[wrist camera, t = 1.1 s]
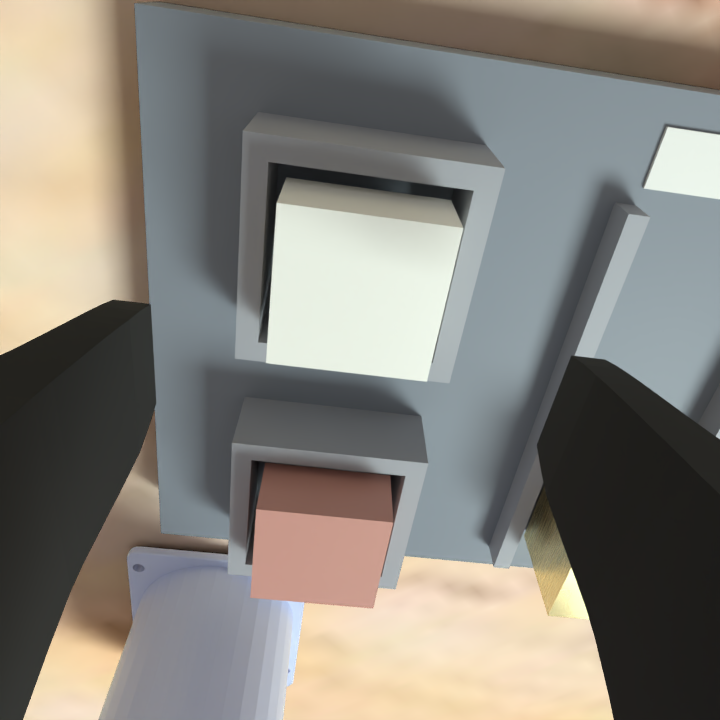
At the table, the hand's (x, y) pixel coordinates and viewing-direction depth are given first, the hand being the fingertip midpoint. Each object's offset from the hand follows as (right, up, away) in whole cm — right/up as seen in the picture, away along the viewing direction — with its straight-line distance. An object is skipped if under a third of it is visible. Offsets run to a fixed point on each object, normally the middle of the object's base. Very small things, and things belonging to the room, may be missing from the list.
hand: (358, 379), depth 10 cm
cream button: (0, +3, +5) cm, 6 cm away
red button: (-1, -5, +10) cm, 11 cm away
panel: (+4, +1, +11) cm, 12 cm away
